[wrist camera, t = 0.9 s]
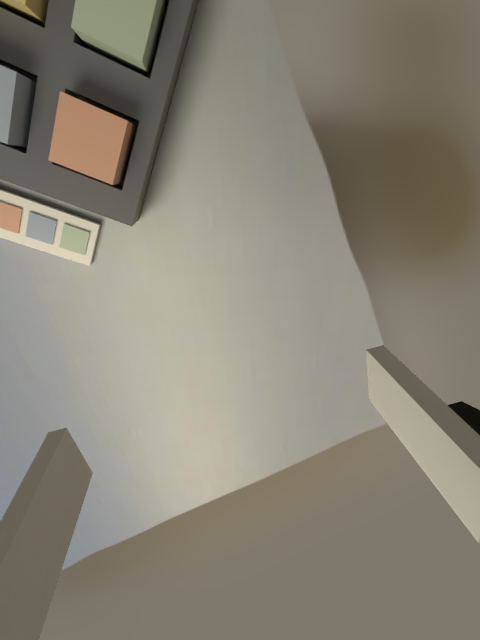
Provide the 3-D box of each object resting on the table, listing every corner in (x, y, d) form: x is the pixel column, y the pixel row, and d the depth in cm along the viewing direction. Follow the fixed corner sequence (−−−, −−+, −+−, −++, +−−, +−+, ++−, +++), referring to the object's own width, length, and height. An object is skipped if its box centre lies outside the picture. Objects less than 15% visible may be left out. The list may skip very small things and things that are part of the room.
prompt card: (-14, 230, 30) (-19, 232, 29) (-9, 185, 29) (-14, 185, 28) (91, 264, 32) (89, 266, 32) (101, 223, 31) (98, 225, 30)
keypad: (-48, 152, 27) (-80, 150, 24) (-26, -147, 21) (-65, -202, 18) (138, 220, 31) (131, 226, 28) (202, -16, 25) (204, -42, 22)
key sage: (87, 45, 24) (70, 27, 21) (101, -31, 23) (86, -63, 19) (148, 74, 25) (142, 61, 22) (165, 4, 24) (161, -20, 20)
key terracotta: (65, 161, 27) (48, 160, 24) (76, 100, 25) (60, 91, 22) (121, 182, 28) (112, 185, 25) (135, 126, 26) (127, 120, 23)
